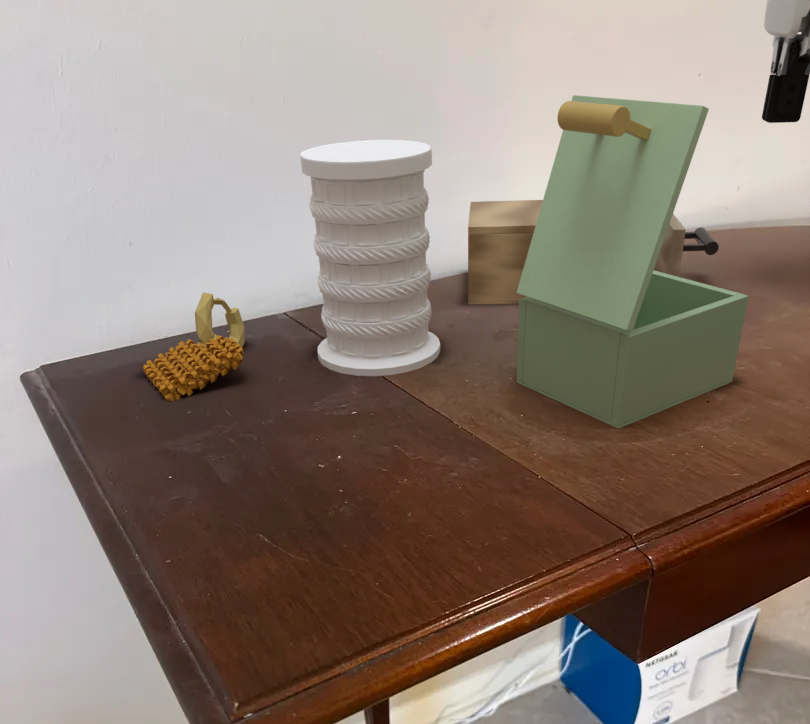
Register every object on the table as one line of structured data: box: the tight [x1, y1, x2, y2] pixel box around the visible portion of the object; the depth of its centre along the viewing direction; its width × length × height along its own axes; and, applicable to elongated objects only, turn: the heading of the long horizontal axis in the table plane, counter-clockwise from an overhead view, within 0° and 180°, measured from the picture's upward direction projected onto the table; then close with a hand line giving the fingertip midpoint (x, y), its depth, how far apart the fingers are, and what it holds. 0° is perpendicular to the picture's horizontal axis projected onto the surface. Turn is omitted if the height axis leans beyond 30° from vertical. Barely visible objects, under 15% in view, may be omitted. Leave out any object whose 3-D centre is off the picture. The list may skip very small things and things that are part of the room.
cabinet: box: [467, 199, 543, 305], centre depth 89 cm, size 14×12×9 cm
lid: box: [517, 94, 710, 331], centre depth 57 cm, size 14×12×5 cm
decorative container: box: [300, 139, 441, 377], centre depth 72 cm, size 12×12×18 cm
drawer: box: [654, 213, 720, 277], centre depth 88 cm, size 17×10×7 cm, turn 85°
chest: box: [516, 270, 750, 429], centre depth 67 cm, size 14×12×8 cm
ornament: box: [143, 292, 245, 402], centre depth 74 cm, size 7×10×15 cm
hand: (780, 120), depth 80 cm, fingers closed
